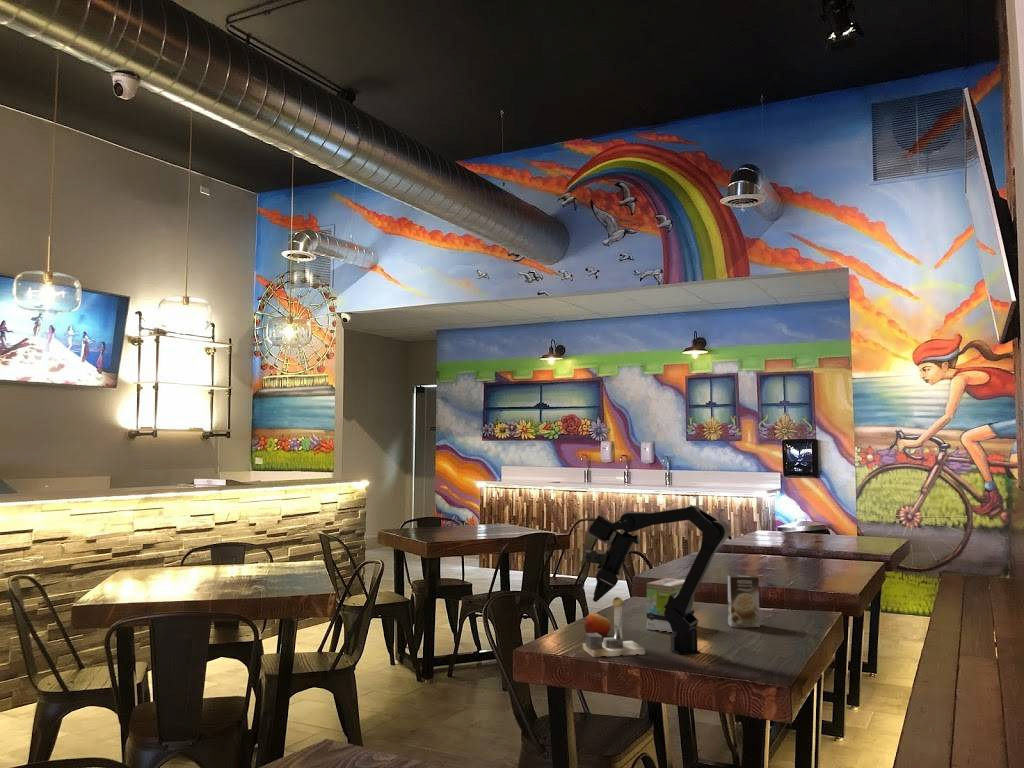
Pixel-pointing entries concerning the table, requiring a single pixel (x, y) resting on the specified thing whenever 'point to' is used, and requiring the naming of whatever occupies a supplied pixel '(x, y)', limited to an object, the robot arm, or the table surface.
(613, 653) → the board
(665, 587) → the tea box
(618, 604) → the gold knob lever
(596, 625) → the fruit
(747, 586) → the coffee box
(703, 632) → the table surface
